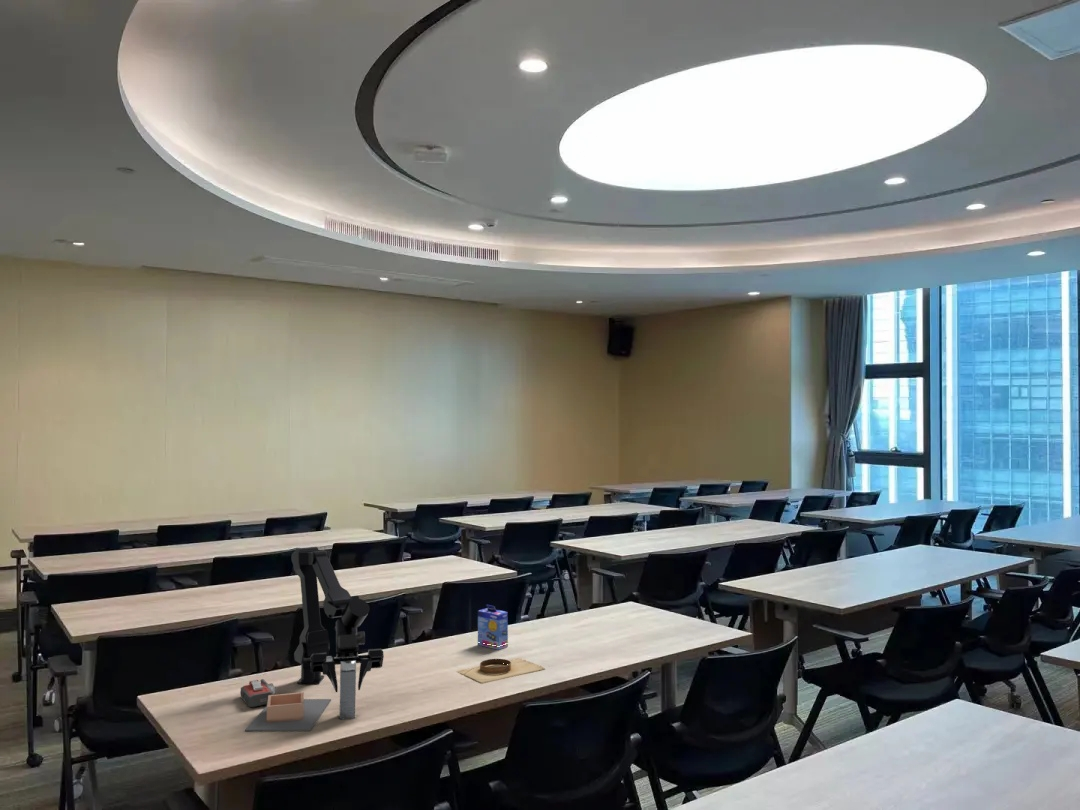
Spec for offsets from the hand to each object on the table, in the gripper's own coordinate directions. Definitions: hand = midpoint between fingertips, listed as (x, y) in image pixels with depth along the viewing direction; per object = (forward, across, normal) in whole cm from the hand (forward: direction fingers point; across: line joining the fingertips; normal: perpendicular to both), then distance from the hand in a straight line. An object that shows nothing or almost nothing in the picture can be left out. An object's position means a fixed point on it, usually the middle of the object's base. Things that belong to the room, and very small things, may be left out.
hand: (347, 690), depth 201 cm
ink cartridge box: (-35, +52, +45) cm, 77 cm away
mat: (+1, -14, +9) cm, 17 cm away
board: (-15, +48, +26) cm, 57 cm away
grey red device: (-11, -23, +21) cm, 33 cm away
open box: (+1, -15, +9) cm, 18 cm away
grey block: (+4, 0, +6) cm, 7 cm away
